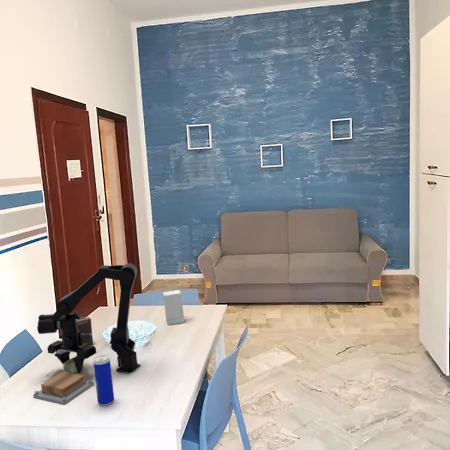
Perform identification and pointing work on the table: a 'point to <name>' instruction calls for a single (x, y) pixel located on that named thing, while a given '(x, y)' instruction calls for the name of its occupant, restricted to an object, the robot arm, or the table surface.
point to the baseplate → (63, 399)
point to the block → (71, 367)
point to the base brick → (63, 384)
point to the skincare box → (173, 307)
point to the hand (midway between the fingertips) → (74, 371)
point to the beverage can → (103, 380)
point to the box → (85, 328)
